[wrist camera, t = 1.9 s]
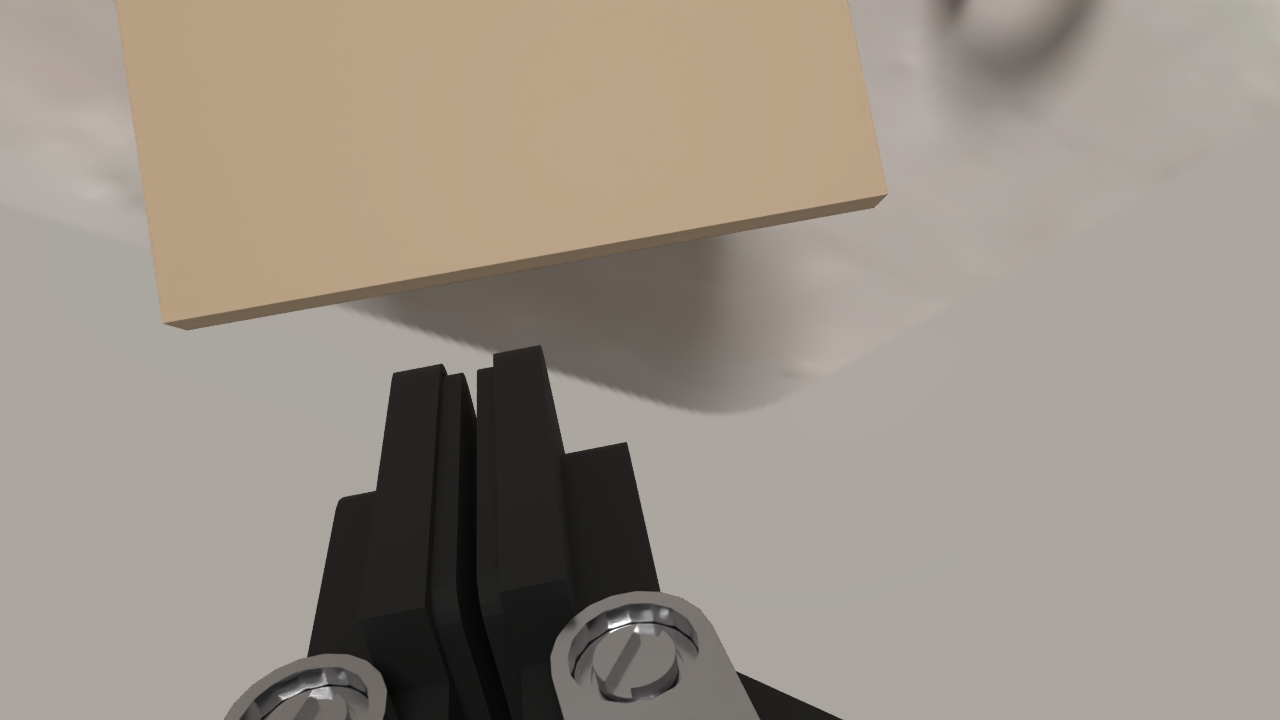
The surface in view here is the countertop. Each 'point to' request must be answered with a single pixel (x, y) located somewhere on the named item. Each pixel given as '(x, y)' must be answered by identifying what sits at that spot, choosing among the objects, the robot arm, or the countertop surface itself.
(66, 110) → the countertop surface
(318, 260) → the box lid
